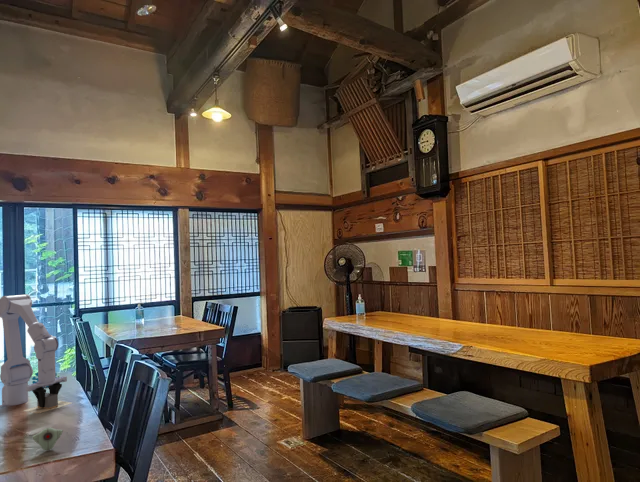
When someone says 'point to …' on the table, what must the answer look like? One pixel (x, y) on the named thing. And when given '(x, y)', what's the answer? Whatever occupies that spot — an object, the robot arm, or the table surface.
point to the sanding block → (50, 401)
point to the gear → (37, 378)
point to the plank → (41, 410)
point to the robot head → (47, 438)
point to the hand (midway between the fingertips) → (47, 405)
